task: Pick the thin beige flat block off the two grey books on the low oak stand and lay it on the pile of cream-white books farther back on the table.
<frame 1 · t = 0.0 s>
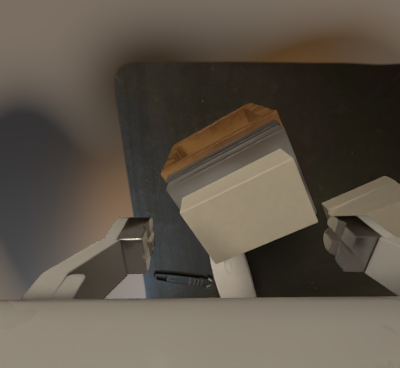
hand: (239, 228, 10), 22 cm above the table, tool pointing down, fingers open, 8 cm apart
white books: (357, 208, 35), on the table
oak stand: (225, 154, 31), on the table
beige flat block: (243, 201, 18), point 14 cm above the table, touching oak stand
computer mouse: (232, 267, 41), on the table
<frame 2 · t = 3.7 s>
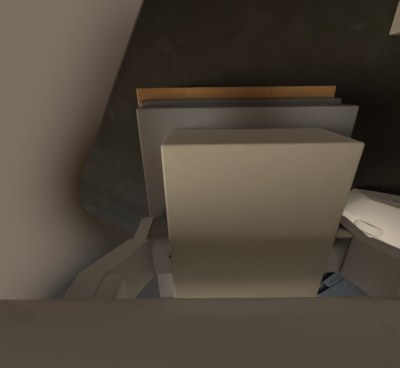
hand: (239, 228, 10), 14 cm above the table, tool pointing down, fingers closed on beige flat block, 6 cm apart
oak stand: (217, 147, 23), on the table
beige flat block: (238, 222, 10), point 14 cm above the table, touching gripper, oak stand
computer mouse: (380, 214, 27), on the table
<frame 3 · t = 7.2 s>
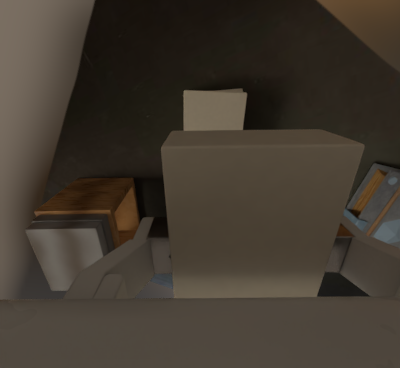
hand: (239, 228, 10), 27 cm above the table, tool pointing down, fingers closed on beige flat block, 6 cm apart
book: (376, 219, 42), on the table
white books: (211, 124, 34), on the table
oak stand: (111, 206, 40), on the table
beige flat block: (238, 223, 10), point 26 cm above the table, touching gripper
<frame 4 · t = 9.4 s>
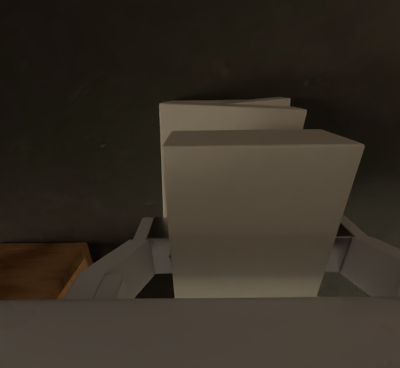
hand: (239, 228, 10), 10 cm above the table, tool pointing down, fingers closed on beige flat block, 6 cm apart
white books: (220, 160, 19), on the table
oak stand: (57, 282, 25), on the table
beige flat block: (238, 223, 10), point 9 cm above the table, touching gripper
when the fingers open (6 cm above the table, at t = 10.8 s): beige flat block stays where it is, resting on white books.
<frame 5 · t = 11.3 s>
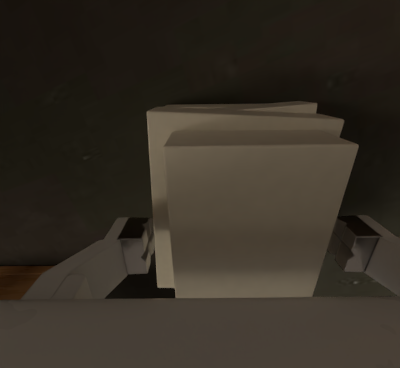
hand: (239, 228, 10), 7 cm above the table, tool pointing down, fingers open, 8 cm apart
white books: (224, 174, 16), on the table
oak stand: (39, 308, 22), on the table
beige flat block: (237, 221, 11), point 6 cm above the table, touching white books
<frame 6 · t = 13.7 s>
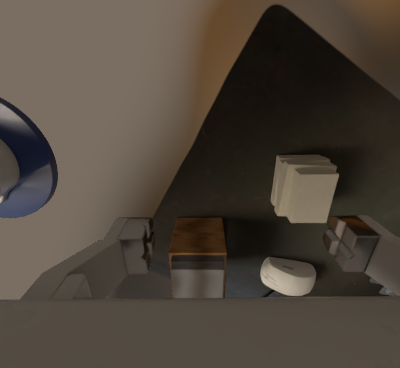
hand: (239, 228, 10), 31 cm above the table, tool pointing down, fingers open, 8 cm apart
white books: (293, 179, 42), on the table
oak stand: (199, 239, 49), on the table
beige flat block: (307, 193, 37), point 6 cm above the table, touching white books
computer mouse: (285, 268, 52), on the table
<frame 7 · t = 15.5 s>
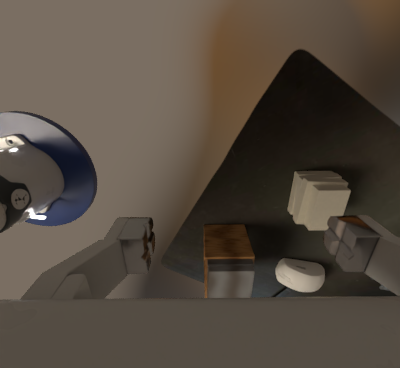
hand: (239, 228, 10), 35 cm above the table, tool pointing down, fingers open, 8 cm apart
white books: (308, 191, 48), on the table
oak stand: (223, 243, 55), on the table
beige flat block: (322, 204, 43), point 6 cm above the table, touching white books
computer mouse: (297, 267, 59), on the table
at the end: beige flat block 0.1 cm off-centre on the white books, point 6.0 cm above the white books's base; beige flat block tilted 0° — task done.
